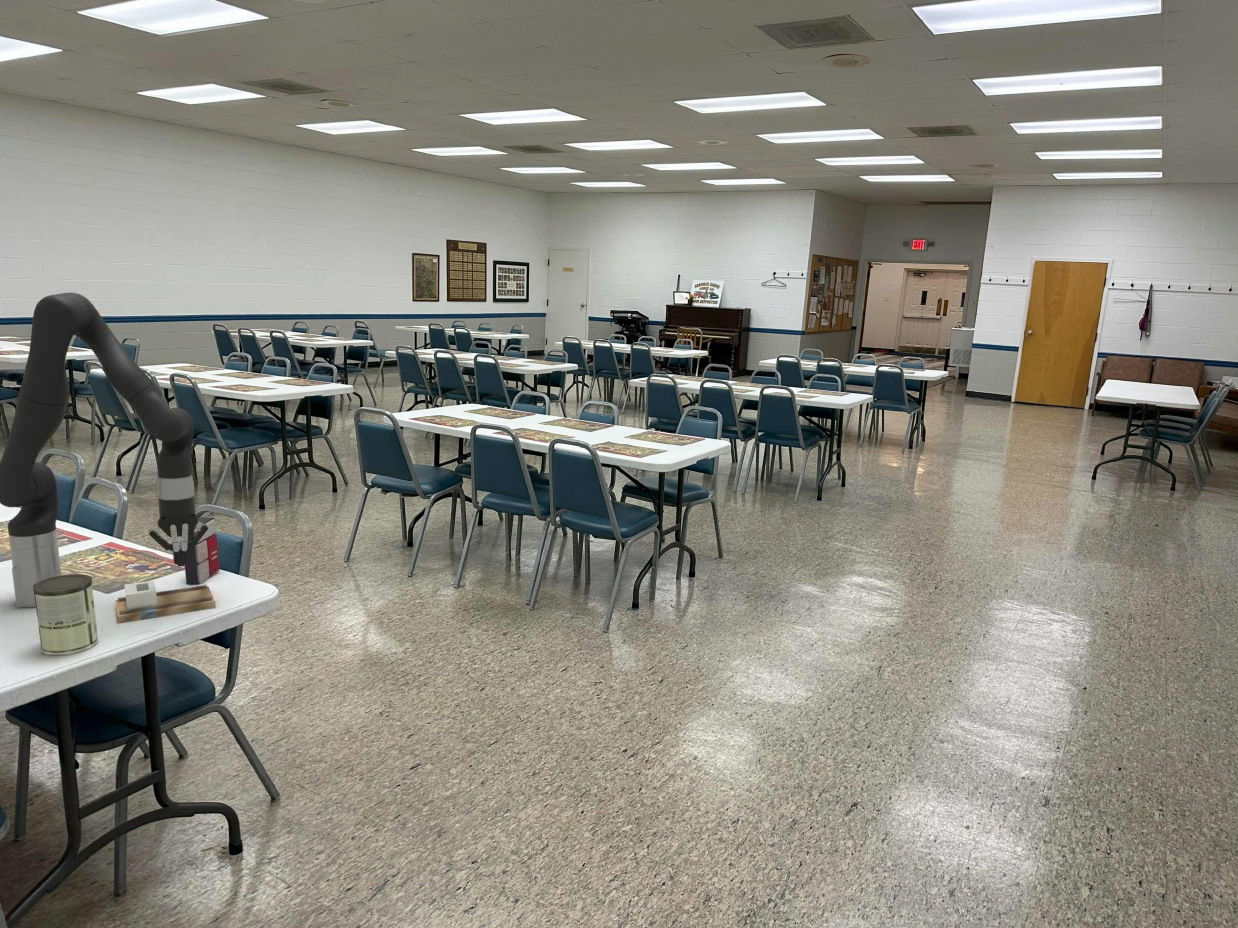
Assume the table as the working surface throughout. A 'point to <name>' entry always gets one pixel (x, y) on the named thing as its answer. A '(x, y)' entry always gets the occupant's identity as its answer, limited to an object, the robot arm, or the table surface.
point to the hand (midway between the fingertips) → (180, 565)
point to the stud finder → (140, 594)
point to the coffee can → (66, 614)
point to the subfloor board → (168, 604)
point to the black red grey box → (202, 554)
